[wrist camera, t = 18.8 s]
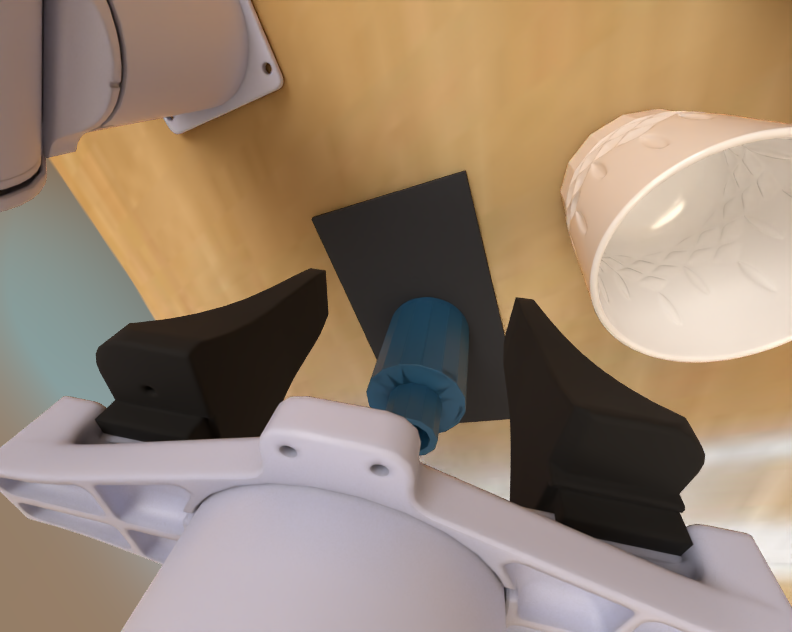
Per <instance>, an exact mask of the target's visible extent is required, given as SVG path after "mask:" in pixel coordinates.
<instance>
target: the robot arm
mask: <svg viewBox="0 0 792 632" xmlns="http://www.w3.org/2000/svg"><path fill="white" fill-rule="evenodd" d="M267 63H269V64H270V66H271V69H272V71H271V73H270V74H269V73H268V72H267V71H266V64H267ZM282 85H283V76H282V74H281V71H280V69H279V66H278V64H277V62H276V59H275V57H274V55H273V52H272V50H271V48H270V45H269V43H268V40H267V38H266V36H265V33H264V31H263V29H262V26H261V24H260V21H259V19H258V17H257V14H256V12H255V10H254V7H253V5H252V3H251V0H0V212H2V211H6V210H9V209H12V208H15V207H17V206H20V205H22V204H24V203H26V202H28V201H30V200H31V199H33V198H34V197H35V196H36V195H37V194H39V192H40V191H41V190H42V188H43V186H44V185H45V183H46V178H47V168H46V158H49V157H53V156H57V155H62V154H66V153H70V152H75V151H76V149H77V143H78V141H79V139H80V138H81V136H82V135H83V134H85V133H87V132H91V131H96V130H101V129H107V128H112V127H117V126H122V125H128V124H133V123H138V122H143V121H148V120H154V119H159V118H163V119H164V120H165V122H166V124H167V125H168V127H169V129H170V130H171V131H172V132H173V133H175V134H181V133H184V132H186V131H189V130H191V129H193V128H195V127H197V126H200V125H202V124H204V123H206V122H208V121H211V120H213V119H215V118H217V117H219V116H222V115H224V114H226V113H228V112H230V111H233V110H235V109H237V108H239V107H241V106H243V105H246V104H248V103H250V102H252V101H254V100H257V99H259V98H261V97H263V96H265V95H268V94H270V93H272V92H274V91H276V90H279V89H280V88H281V87H282ZM170 116H173V117H174V118H173V119H172V118H171V117H170ZM45 157H46V158H45ZM327 317H328V299H327V283H326V270H319V269H312V268H310V269H308V270H305V271H303V272H301V273H299V274H297V275H295V276H293V277H291V278H289V279H287V280H285V281H283V282H281V283H279V284H277V285H275V286H273V287H271V288H269V289H267V290H265V291H262V292H260V293H258V294H256V295H253V296H251V297H249V298H246V299H244V300H241V301H238V302H235V303H232V304H230V305H227V306H223V307H220V308H216V309H212V310H209V311H205V312H201V313H197V314H192V315H187V316H182V317H176V318H171V319H164V320H156V321H147V322H139V323H129V324H128V325H127V326H125V327H124V328H123V329H121V330H120V331H119V332H118V333H116V334H115V335H114V336H112V337H111V338H110V339H108V340H107V341H106V342H105V343H103V344H102V345H101V346H99V347H98V350H97V352H96V363H97V366H98V368H99V371H100V373H101V375H102V376H103V378H104V380H105V382H106V384H107V386H108V387H109V389H110V391H111V393H112V394H113V396H114V398H115V401H114V402H113V403H112V404H111V405H110V406H109V407H108V408H106V407H105V406H103V405H102V404H100V403H97V402H95V401H89V400H85V399H79V398H74V397H69V396H63V397H62V398H61V399H60V400H58V401H57V402H56V403H55V404H54V405H52V406H51V407H50V408H49V409H47V410H46V411H45V412H44V413H42V414H41V415H40V416H39V417H38V418H36V419H35V420H34V421H33V422H31V423H30V424H29V425H28V426H26V427H25V428H24V429H23V430H21V431H20V432H19V433H18V434H16V435H15V437H13V438H12V439H10V440H9V441H8V442H7V443H5V444H4V445H3V446H2V447H0V492H1V493H2V494H3V495H4V496H5V497H6V498H8V499H9V500H10V501H11V502H12V503H13V504H14V505H15V506H16V507H17V508H18V509H19V510H20V511H21V512H22V513H23V514H24V515H25V516H26V517H27V518H28V519H31V520H35V521H39V522H42V523H46V524H49V525H53V526H57V527H60V528H64V529H67V530H69V531H72V532H76V533H79V534H82V535H85V536H87V537H91V538H93V539H96V540H98V541H101V542H104V543H107V544H109V545H112V546H115V547H117V548H120V549H122V550H125V551H128V552H130V553H133V554H136V555H138V556H141V557H143V558H146V559H149V560H151V561H154V562H156V563H159V564H162V567H161V568H160V570H159V571H158V573H157V575H156V576H155V578H154V580H153V581H152V583H151V584H150V586H149V588H148V589H147V591H146V592H145V594H144V595H143V597H142V599H141V600H140V602H139V603H138V605H137V607H136V608H135V610H134V611H133V613H132V614H131V616H130V618H129V619H128V621H127V622H126V624H125V626H124V627H123V629H122V630H121V632H792V607H791V605H790V603H789V601H788V600H787V598H786V596H785V594H784V593H783V591H782V589H781V587H780V585H779V584H778V582H777V580H776V578H775V576H774V575H773V573H772V571H771V569H770V568H769V566H768V564H767V562H766V560H765V559H764V557H763V555H762V553H761V551H760V550H759V548H758V546H757V544H756V543H755V541H754V539H753V537H752V536H751V535H749V534H747V533H743V532H738V531H733V530H728V529H723V528H718V527H713V526H708V525H700V524H695V525H689V526H687V527H686V526H685V524H684V522H683V519H682V517H681V515H680V512H681V513H682V512H683V511H684V510H685V505H684V503H683V501H682V499H681V496H680V493H681V491H682V490H683V489H684V488H685V487H686V486H687V485H688V484H689V483H690V481H691V480H692V479H693V478H694V477H695V476H696V475H697V474H698V473H699V471H700V469H701V468H702V466H703V465H704V460H705V453H704V451H703V448H702V446H701V444H700V442H699V440H698V438H697V437H696V435H695V433H694V431H693V430H692V428H691V426H690V424H689V423H688V421H687V420H686V418H685V417H683V416H681V415H679V414H677V413H675V412H673V411H671V410H669V409H667V408H664V407H662V406H660V405H658V404H656V403H654V402H652V401H651V400H649V399H647V398H645V397H643V396H642V395H640V394H638V393H637V392H635V391H633V390H631V389H630V388H628V387H627V386H625V385H623V384H622V383H620V382H619V381H617V380H616V379H614V378H613V377H612V376H610V375H609V374H607V373H606V372H604V371H603V370H602V369H600V368H599V367H598V366H596V365H595V364H594V363H593V362H592V361H590V360H589V359H588V358H587V357H586V356H584V355H583V354H582V353H581V352H580V351H579V350H578V349H577V348H576V347H575V346H574V345H573V344H572V343H571V342H570V341H569V340H568V339H567V338H566V337H565V336H564V335H563V334H562V333H561V332H560V331H559V330H558V329H557V328H556V326H555V325H554V324H553V323H552V322H551V321H550V319H549V318H548V317H547V316H546V314H545V313H544V312H543V311H542V310H541V308H540V307H539V306H538V305H537V303H536V302H535V301H534V300H532V299H525V298H518V297H516V299H515V303H514V306H513V310H512V313H511V317H510V321H509V324H508V328H507V331H506V335H505V338H504V348H503V366H504V374H505V382H506V390H507V398H508V405H509V413H510V432H511V475H510V501H508V500H506V499H503V498H501V497H499V496H496V495H494V494H492V493H490V492H487V491H485V490H483V489H480V488H478V487H476V486H473V485H471V484H469V483H466V482H464V481H462V480H460V479H457V478H455V477H453V476H450V475H448V474H446V473H443V472H441V471H439V470H436V469H434V468H432V467H429V466H427V465H425V464H423V463H421V462H420V461H419V452H420V445H421V441H420V437H419V433H418V430H417V429H416V428H415V427H414V426H413V425H412V424H411V423H410V422H409V421H408V420H407V419H405V418H404V417H402V416H400V415H397V414H394V413H392V412H389V411H385V410H380V409H374V408H369V407H364V406H358V405H353V404H347V403H342V402H337V401H331V400H326V399H320V398H315V397H310V396H296V397H289V398H287V399H286V400H284V397H285V395H286V393H287V391H288V389H289V387H290V384H291V382H292V381H293V379H294V377H295V375H296V373H297V372H298V370H299V369H300V367H301V365H302V364H303V362H304V360H305V359H306V357H307V355H308V354H309V352H310V351H311V349H312V347H313V346H314V344H315V342H316V341H317V339H318V337H319V335H320V334H321V331H322V329H323V327H324V324H325V322H326V319H327ZM283 400H284V401H283Z"/></svg>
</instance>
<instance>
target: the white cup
mask: <svg viewBox="0 0 792 632" xmlns="http://www.w3.org/2000/svg"><path fill="white" fill-rule="evenodd" d="M560 192H561V197H562V202H563V207H564V211H565V216H566V224H567V228H568V231H569V236H570V239H571V242H572V246H573V249H574V252H575V255H576V258H577V261H578V263H579V266H580V269H581V272H582V275H583V278H584V280H585V283H586V286H587V289H588V292H589V295H590V298H591V301H592V304H593V307H594V310H595V312H596V314H597V316H598V318H599V320H600V321H601V323H602V324H603V326H604V327H605V328H606V329H607V331H608V332H609V333H610V334H611V335H612V336H614V337H615V338H616V339H617V340H618V341H620V342H621V343H623V344H624V345H626V346H628V347H629V348H631V349H633V350H635V351H637V352H640V353H642V354H645V355H648V356H651V357H655V358H659V359H664V360H670V361H678V362H714V361H723V360H730V359H736V358H740V357H745V356H749V355H753V354H757V353H760V352H763V351H766V350H769V349H772V348H775V347H778V346H780V345H783V344H785V343H788V342H790V341H792V124H789V123H782V122H775V121H769V120H762V119H755V118H749V117H742V116H735V115H727V114H717V113H704V112H696V111H670V110H664V109H653V110H647V111H642V112H636V113H630V114H624V115H621V116H620V117H618V118H616V119H615V120H613V121H611V122H610V123H608V124H607V125H605V126H603V127H602V128H600V129H598V130H597V131H595V132H593V133H592V134H590V135H589V137H588V138H587V139H586V140H585V142H584V143H583V144H582V146H581V147H580V148H579V149H578V151H577V152H576V153H575V154H574V156H573V157H572V158H571V160H570V161H569V162H568V166H567V169H566V173H565V176H564V180H563V184H562V187H561V191H560Z"/></svg>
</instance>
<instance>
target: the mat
mask: <svg viewBox="0 0 792 632" xmlns="http://www.w3.org/2000/svg"><path fill="white" fill-rule="evenodd" d="M312 222H313V224H314V226H315V228H316V230H317V232H318V234H319V237H320V239H321V241H322V243H323V245H324V247H325V249H326V252H327V254H328V256H329V258H330V260H331V262H332V264H333V267H334V269H335V271H336V273H337V275H338V277H339V279H340V282H341V284H342V286H343V288H344V290H345V292H346V294H347V297H348V299H349V301H350V303H351V305H352V307H353V310H354V312H355V314H356V316H357V318H358V320H359V322H360V325H361V327H362V329H363V331H364V333H365V335H366V337H367V340H368V342H369V344H370V346H371V348H372V350H373V352H374V355H375V357H376V359H378V357H379V354H380V351H381V348H382V345H383V342H384V339H385V336H386V334H387V331H388V328H389V325H390V322H391V319H392V316H393V315H394V313H395V311H396V310H397V309H398V308H399V307H400V306H401V305H402V304H404V303H406V302H407V301H410V300H412V299H415V298H421V297H432V298H438V299H441V300H444V301H447V302H449V303H450V304H452V305H454V306H455V307H456V308H457V309H459V310H460V311H461V313H462V314H463V315H464V317H465V318H466V320H467V323H468V326H469V353H468V373H467V393H466V411H465V413H464V415H463V417H462V418H461V420H460V422H459V423H465V422H478V421H490V420H503V419H510V413H509V405H508V398H507V390H506V382H505V374H504V366H503V348H504V338H505V335H504V331H503V327H502V322H501V318H500V314H499V310H498V305H497V301H496V297H495V293H494V289H493V284H492V280H491V276H490V272H489V267H488V263H487V259H486V255H485V251H484V246H483V242H482V238H481V234H480V229H479V225H478V221H477V217H476V213H475V208H474V204H473V200H472V196H471V191H470V187H469V183H468V179H467V175H466V171H462V172H458V173H455V174H452V175H449V176H445V177H442V178H439V179H436V180H432V181H429V182H426V183H423V184H419V185H416V186H413V187H409V188H406V189H403V190H400V191H396V192H393V193H390V194H387V195H383V196H380V197H377V198H374V199H370V200H367V201H364V202H361V203H357V204H354V205H351V206H347V207H344V208H341V209H338V210H334V211H331V212H328V213H325V214H321V215H318V216H315V217H313V218H312Z"/></svg>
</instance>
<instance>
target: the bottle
mask: <svg viewBox="0 0 792 632" xmlns="http://www.w3.org/2000/svg"><path fill="white" fill-rule="evenodd" d="M468 353H469V326H468V323H467V320H466V318H465V317H464V315H463V314H462V313H461V311H460V310H459V309H457V308H456V307H455V306H454V305H452V304H450V303H449V302H447V301H444V300H441V299H438V298H432V297H421V298H415V299H412V300H410V301H407V302H406V303H404V304H402V305H401V306H400V307H399V308H398V309H397V310H396V311H395V313H394V315H393V316H392V319H391V322H390V325H389V328H388V331H387V334H386V336H385V339H384V342H383V345H382V348H381V351H380V354H379V357H378V359H377V362H376V365H375V368H374V371H373V374H372V377H371V379H370V382H369V385H368V388H367V391H366V393H367V397H368V402H369V406H370V407H371V408H374V409H380V410H385V411H389V412H392V413H394V414H397V415H400V416H402V417H404V418H405V419H407V420H408V421H409V422H410V423H411V424H412V425H413V426H414V427H415V428H416V429H417V430H418V433H419V437H420V441H421V445H420V452H419V455H426V454H427V453H429V452H431V451H432V450H434V449H435V447H436V444H437V441H438V434H439V433H441V432H445V431H447V430H449V429H450V428H452V427H454V426H455V425H457V424H458V423H459V422H460V420H461V418H462V417H463V415H464V413H465V411H466V393H467V373H468Z"/></svg>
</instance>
